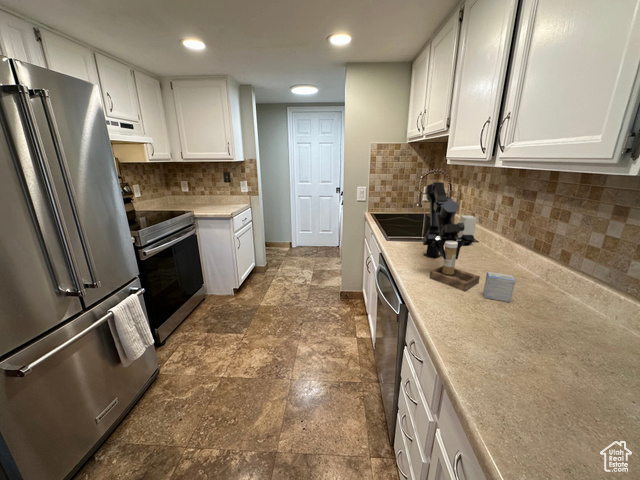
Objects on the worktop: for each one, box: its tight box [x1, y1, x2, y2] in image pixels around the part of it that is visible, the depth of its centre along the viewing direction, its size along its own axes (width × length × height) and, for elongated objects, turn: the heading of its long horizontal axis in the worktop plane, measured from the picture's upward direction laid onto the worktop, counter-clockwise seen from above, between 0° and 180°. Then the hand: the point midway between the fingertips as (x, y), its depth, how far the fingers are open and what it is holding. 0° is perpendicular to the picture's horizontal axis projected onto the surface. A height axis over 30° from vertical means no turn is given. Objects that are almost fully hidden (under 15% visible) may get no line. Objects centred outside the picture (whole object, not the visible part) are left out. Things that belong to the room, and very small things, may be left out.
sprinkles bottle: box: [442, 240, 458, 275], centre depth 107 cm, size 5×5×14 cm
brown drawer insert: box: [429, 265, 481, 292], centre depth 107 cm, size 15×11×3 cm
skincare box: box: [457, 214, 477, 246], centre depth 151 cm, size 8×7×16 cm
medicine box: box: [482, 271, 516, 303], centre depth 93 cm, size 8×4×9 cm, turn 65°
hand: (450, 258), depth 105 cm, fingers closed on sprinkles bottle, 4 cm apart
